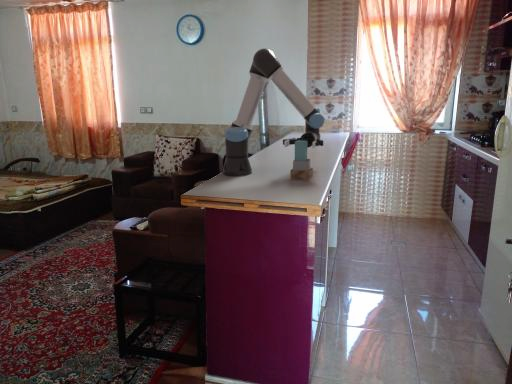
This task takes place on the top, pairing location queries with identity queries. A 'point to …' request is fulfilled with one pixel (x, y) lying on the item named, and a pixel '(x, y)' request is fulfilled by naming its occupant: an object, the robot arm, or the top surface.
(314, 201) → the top surface
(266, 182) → the top surface
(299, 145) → the column block
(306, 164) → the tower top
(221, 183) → the top surface
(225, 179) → the top surface
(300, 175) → the tower base
